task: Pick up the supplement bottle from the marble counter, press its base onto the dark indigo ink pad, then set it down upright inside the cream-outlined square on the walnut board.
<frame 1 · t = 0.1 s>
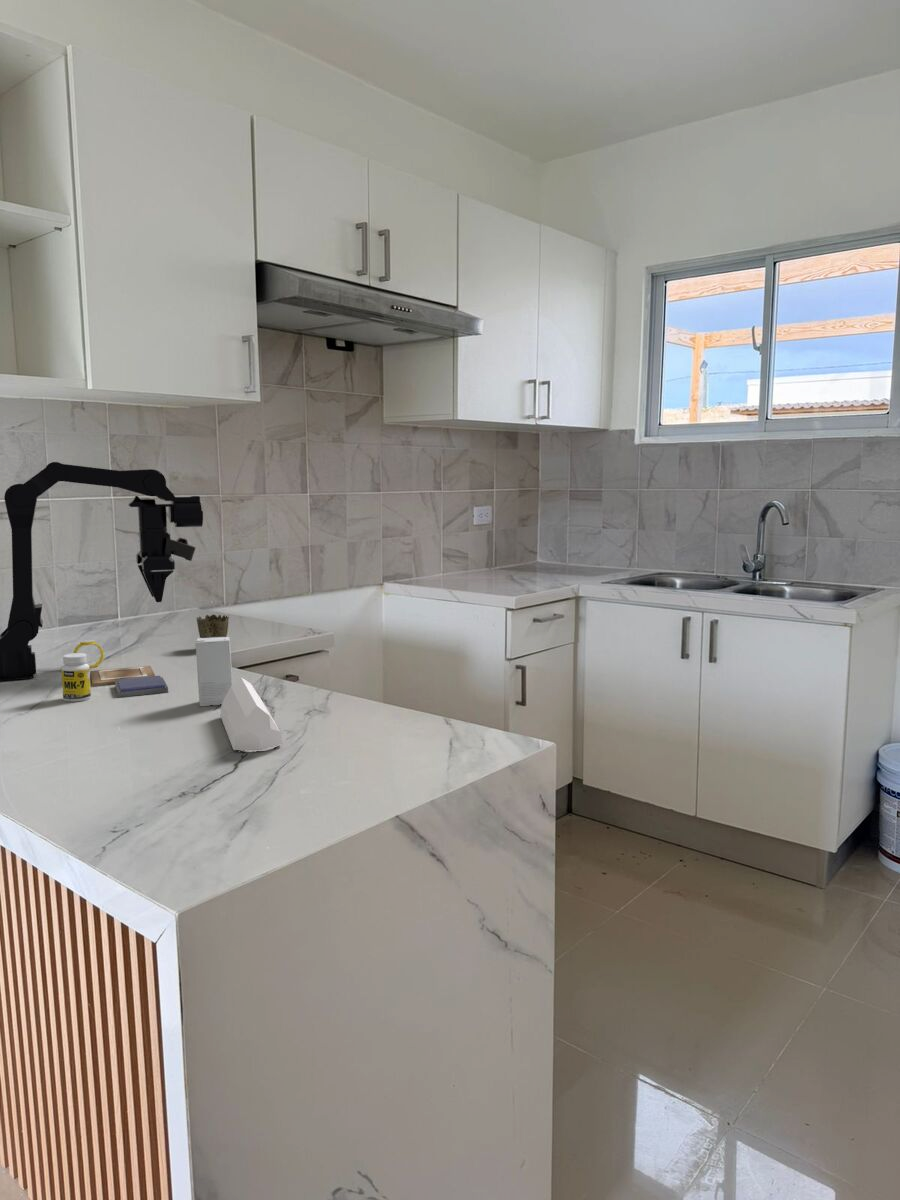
hand: (156, 599, 183), 15 cm above the countertop, fingers open, 9 cm apart
crystal: (249, 734, 136), on the countertop
marked board: (122, 676, 173), on the countertop
skincare box: (216, 704, 153), on the countertop
cup: (214, 650, 201), on the countertop
watch: (89, 668, 183), on the countertop
supplement bottle: (77, 700, 156), on the countertop
ink pad: (141, 689, 163), on the countertop
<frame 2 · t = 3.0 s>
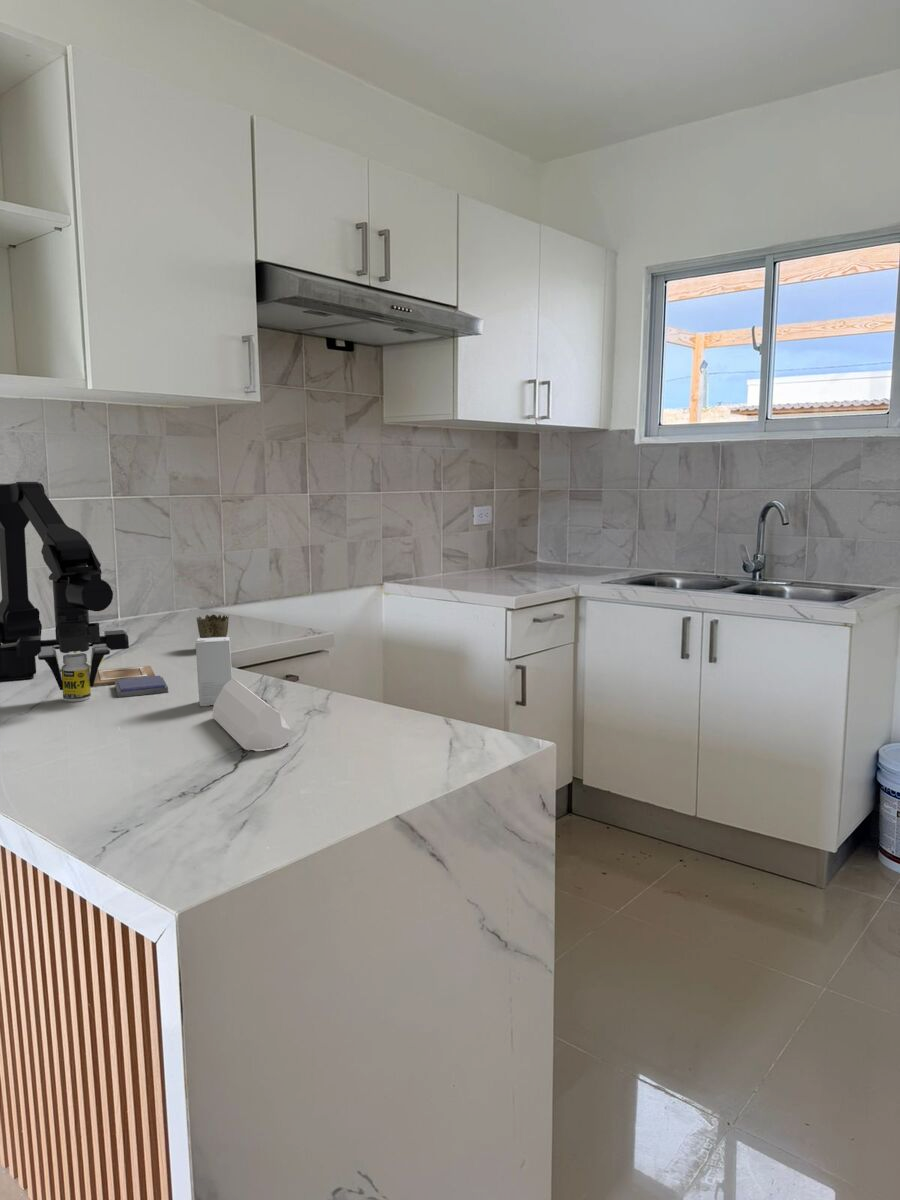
hand: (76, 688, 156), 2 cm above the countertop, fingers closed on supplement bottle, 5 cm apart
supplement bottle: (77, 699, 156), on the countertop, touching gripper
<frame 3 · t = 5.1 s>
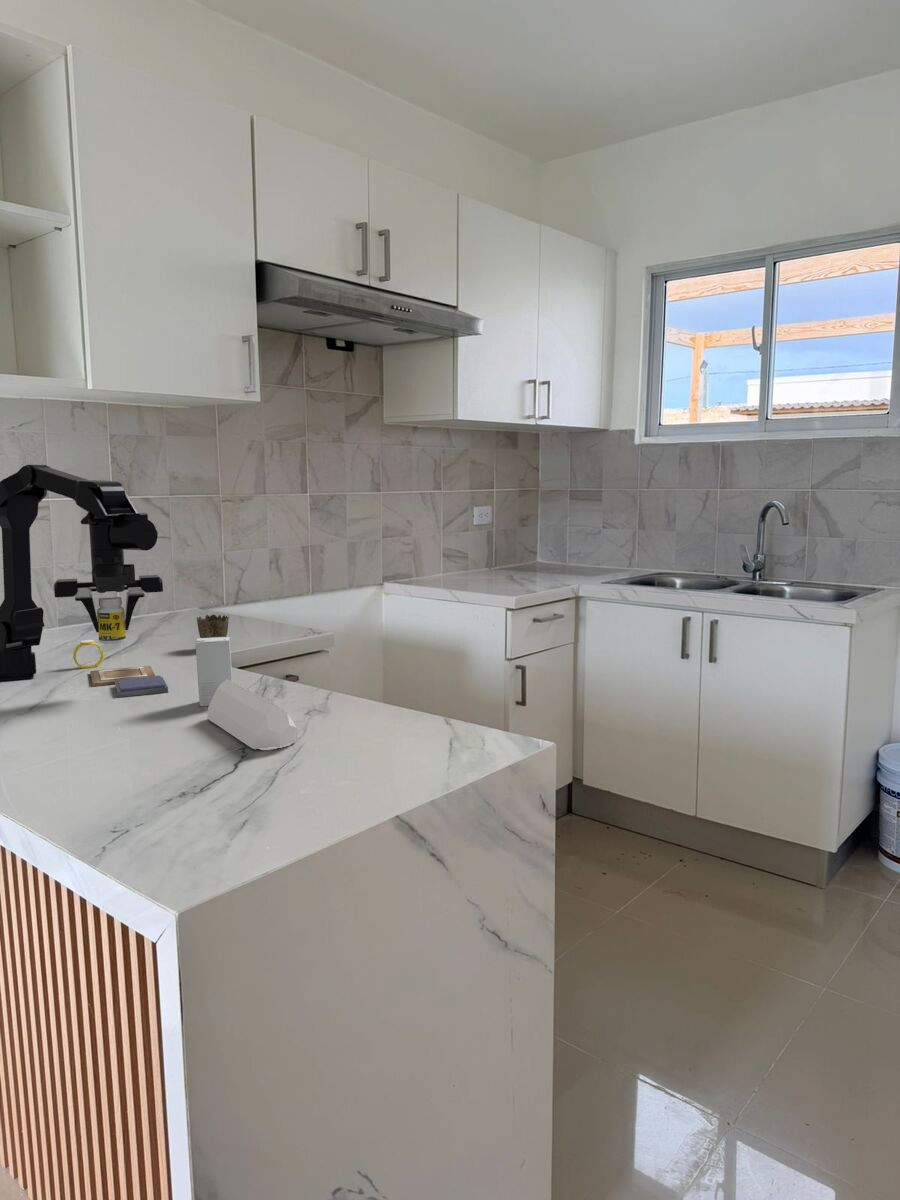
hand: (112, 631, 158), 12 cm above the countertop, fingers closed on supplement bottle, 5 cm apart
supplement bottle: (112, 642, 159), point 10 cm above the countertop, touching gripper
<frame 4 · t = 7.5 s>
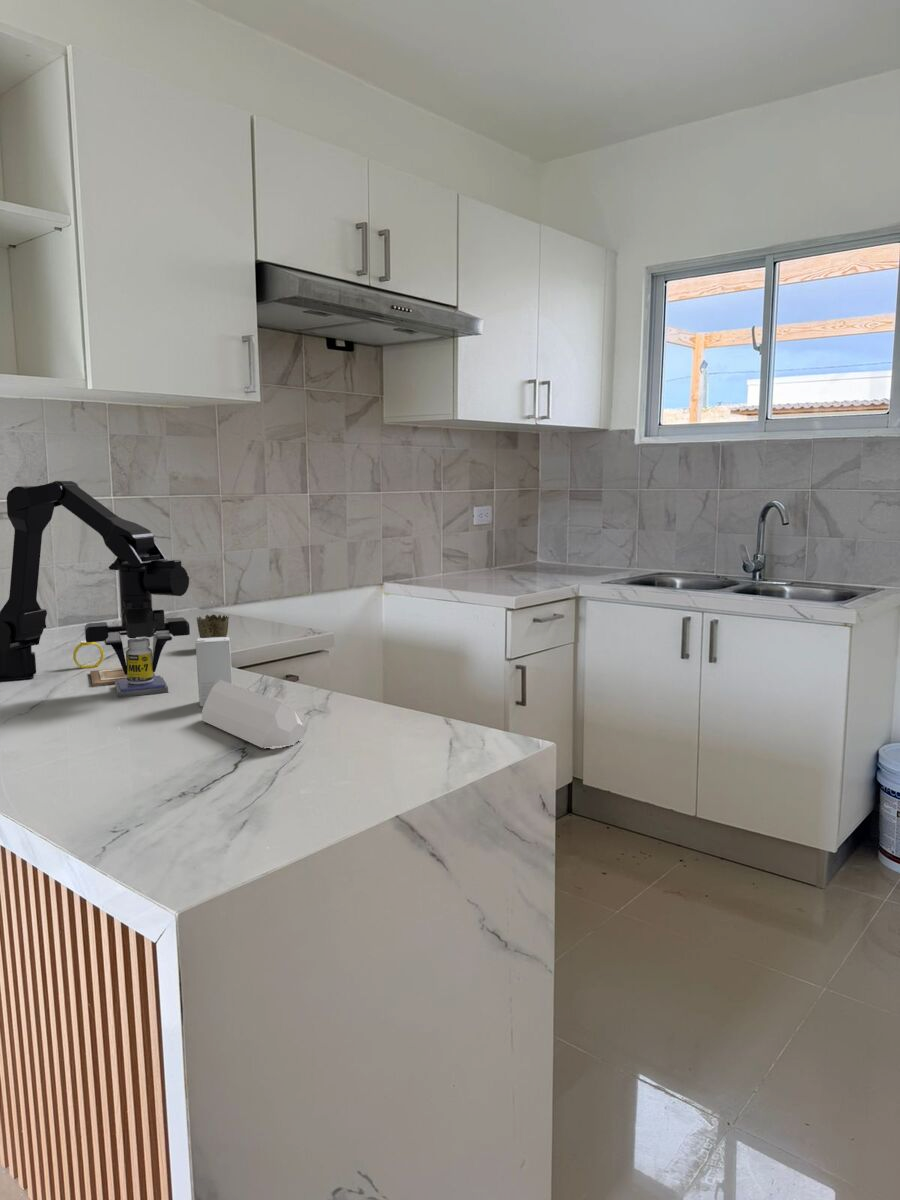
hand: (139, 672, 163), 3 cm above the countertop, fingers closed on supplement bottle, 5 cm apart
supplement bottle: (140, 682, 163), point 1 cm above the countertop, touching gripper, ink pad
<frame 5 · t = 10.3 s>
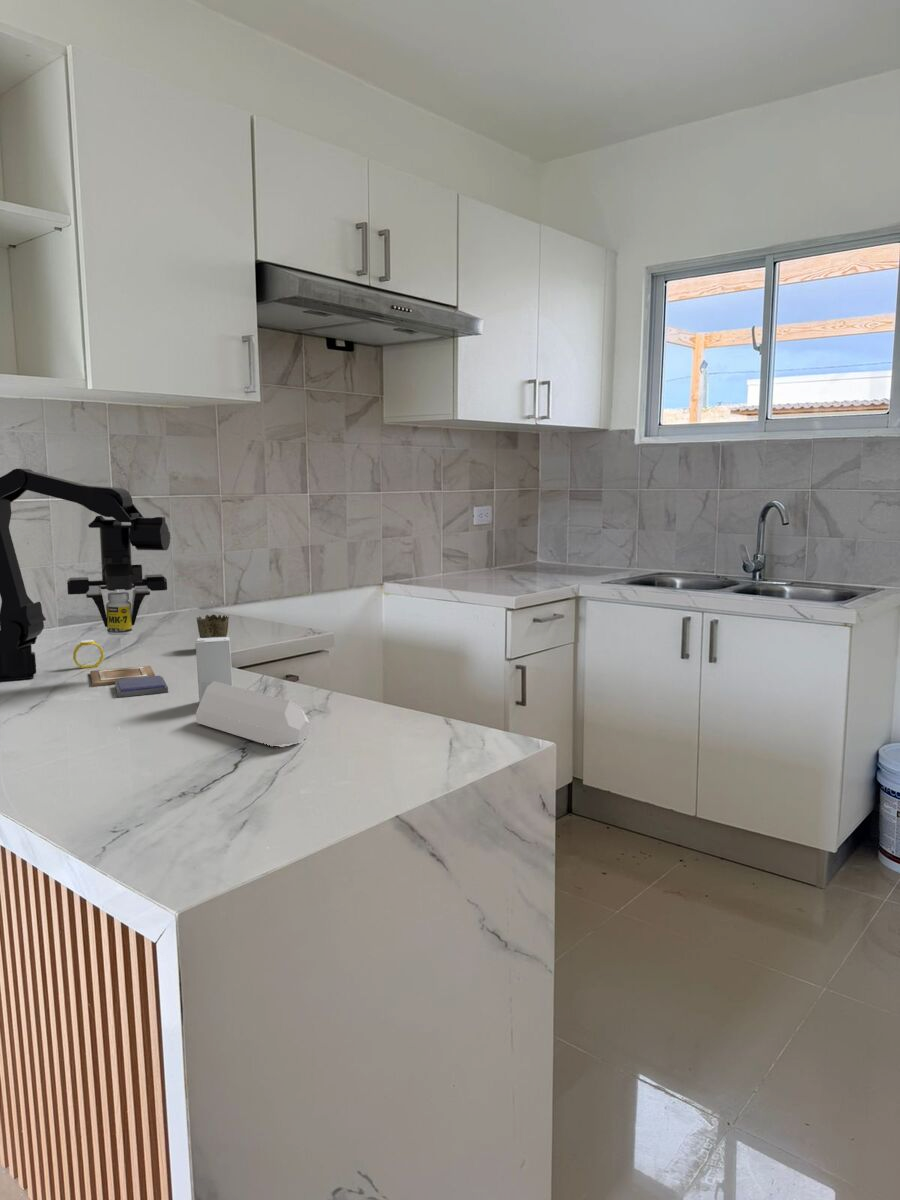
hand: (119, 625, 172), 11 cm above the countertop, fingers closed on supplement bottle, 5 cm apart
supplement bottle: (120, 634, 172), point 9 cm above the countertop, touching gripper
when the fingers open (4 cm above the countertop, at t = 12.4 s): supplement bottle drops 1 cm, resting on marked board.
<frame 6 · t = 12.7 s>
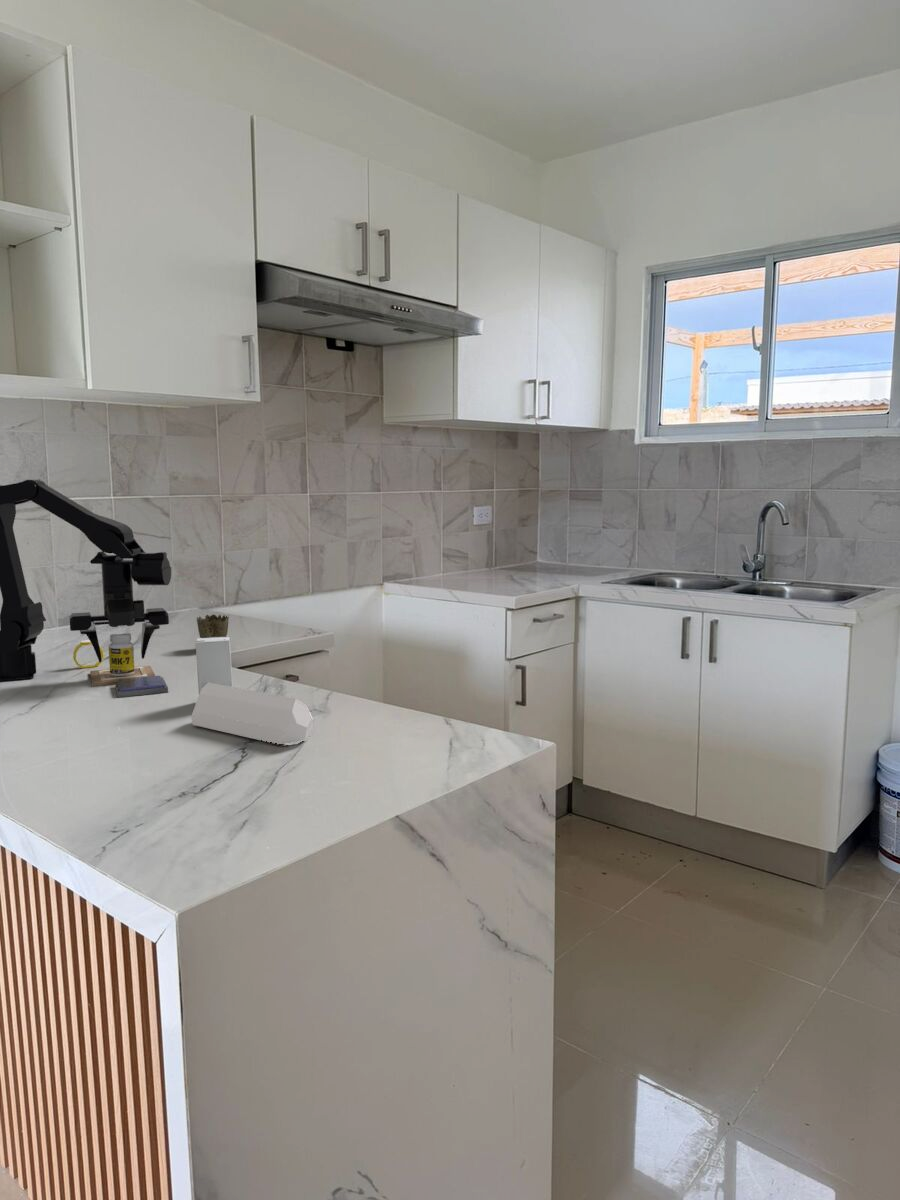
hand: (121, 660, 173), 4 cm above the countertop, fingers open, 8 cm apart
supplement bottle: (122, 675, 173), resting on marked board
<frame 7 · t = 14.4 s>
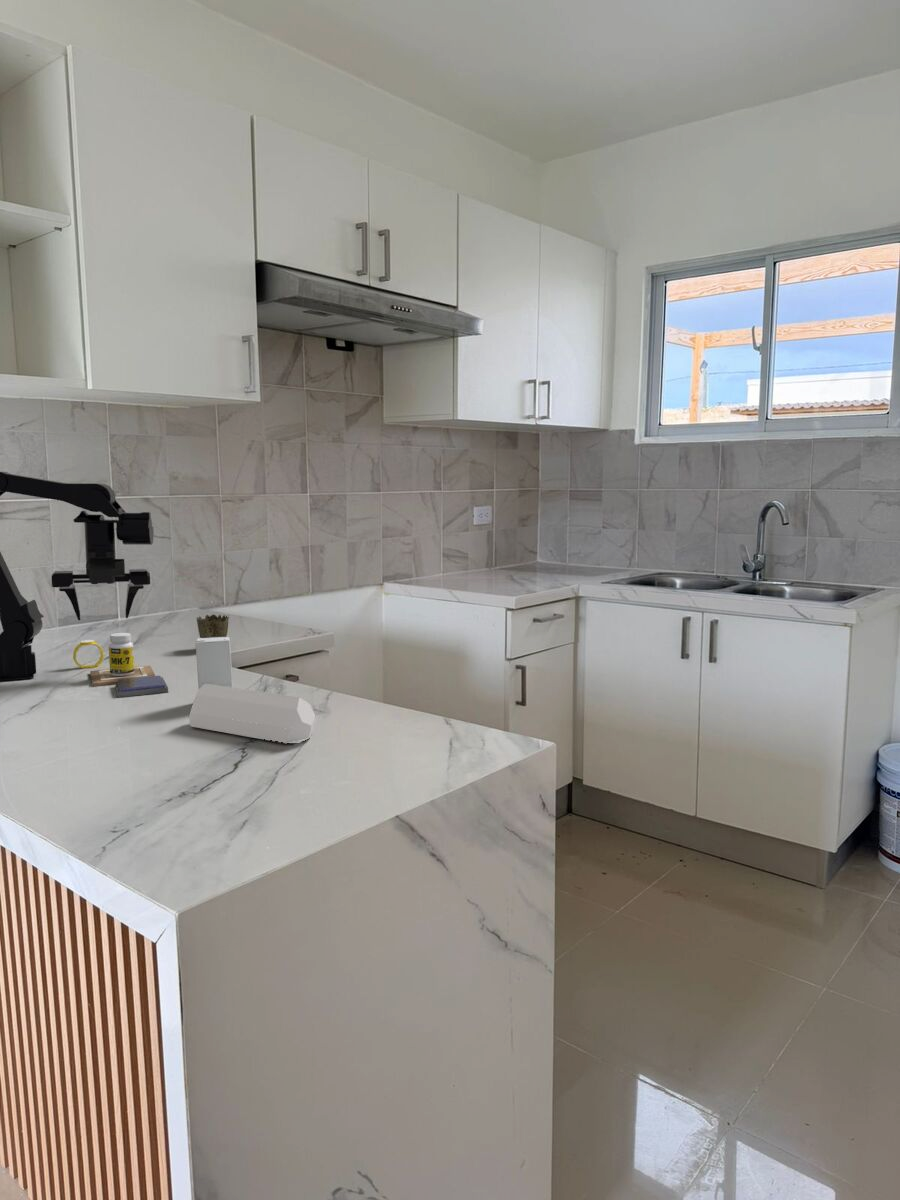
hand: (103, 619, 175), 12 cm above the countertop, fingers open, 9 cm apart
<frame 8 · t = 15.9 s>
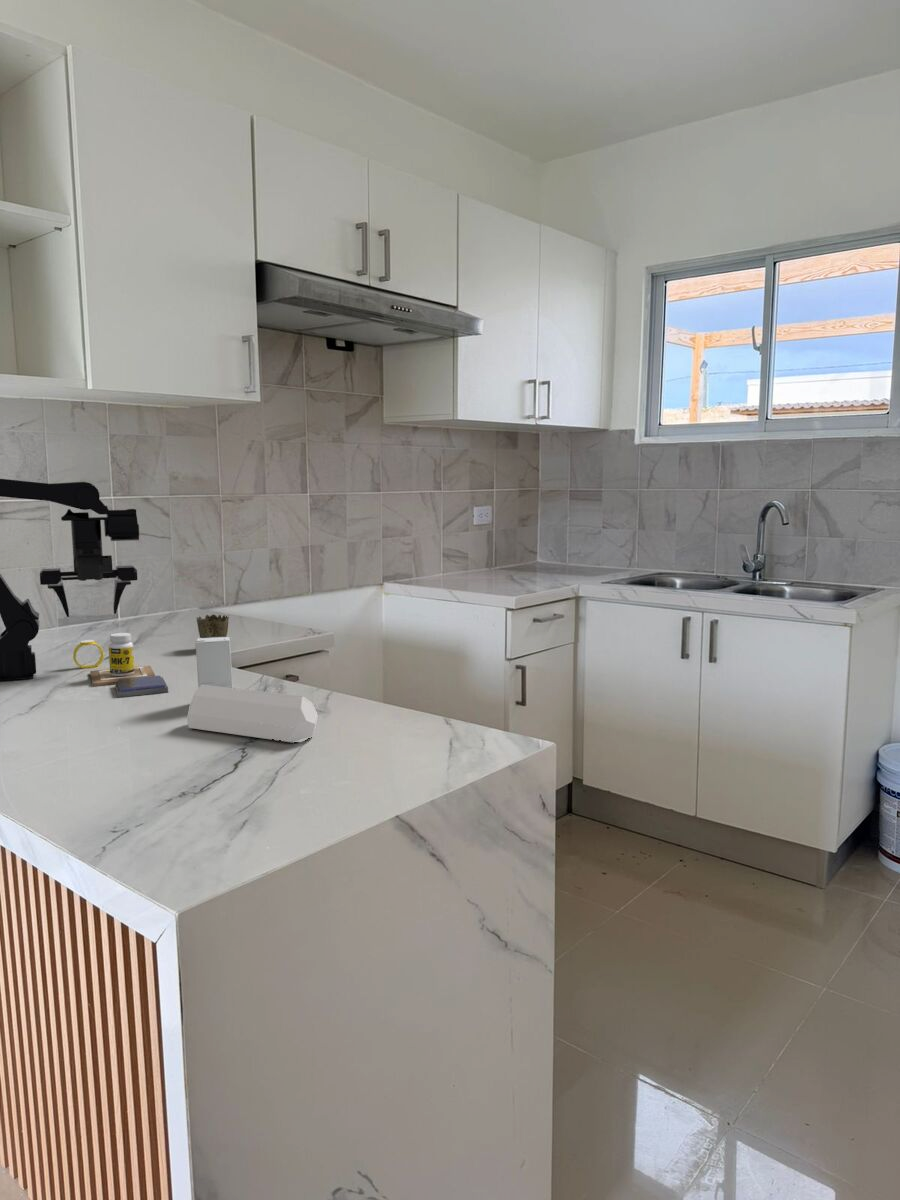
hand: (91, 615, 178), 12 cm above the countertop, fingers open, 9 cm apart
at the end: supplement bottle inside the target area on the marked board (0.0 cm from its centre), point 0.4 cm above the marked board's base; supplement bottle tilted 0°; the gripper is holding nothing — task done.
